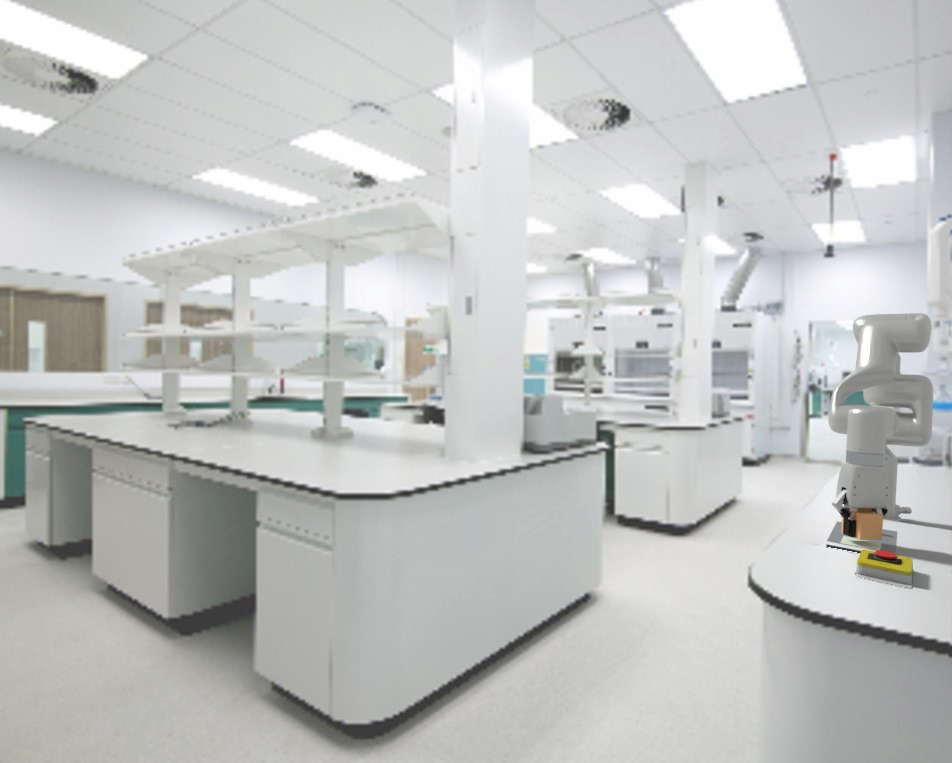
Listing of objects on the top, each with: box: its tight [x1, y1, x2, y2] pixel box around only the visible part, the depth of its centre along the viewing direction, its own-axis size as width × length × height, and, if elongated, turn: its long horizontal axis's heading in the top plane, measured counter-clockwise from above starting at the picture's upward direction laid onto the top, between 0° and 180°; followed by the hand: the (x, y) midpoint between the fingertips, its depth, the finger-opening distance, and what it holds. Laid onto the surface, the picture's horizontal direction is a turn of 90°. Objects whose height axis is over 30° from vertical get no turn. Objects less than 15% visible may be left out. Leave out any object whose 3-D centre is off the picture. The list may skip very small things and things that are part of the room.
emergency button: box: [854, 549, 914, 589], centre depth 114 cm, size 9×4×15 cm
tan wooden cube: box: [841, 508, 884, 540], centre depth 130 cm, size 6×6×7 cm
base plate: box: [825, 521, 898, 555], centre depth 136 cm, size 24×13×6 cm, turn 141°
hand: (861, 534), depth 130 cm, fingers closed on tan wooden cube, 5 cm apart
